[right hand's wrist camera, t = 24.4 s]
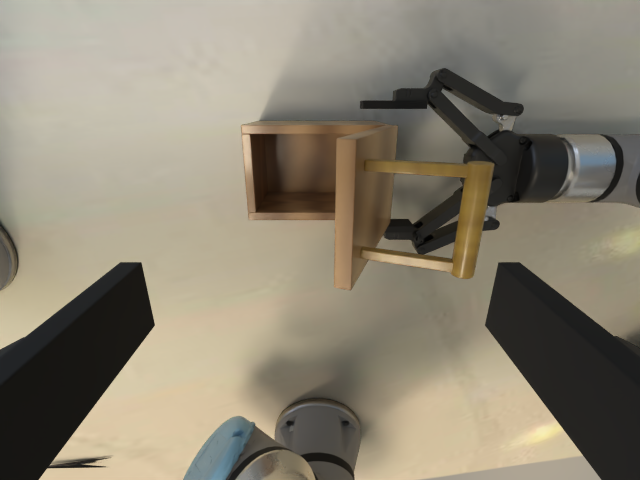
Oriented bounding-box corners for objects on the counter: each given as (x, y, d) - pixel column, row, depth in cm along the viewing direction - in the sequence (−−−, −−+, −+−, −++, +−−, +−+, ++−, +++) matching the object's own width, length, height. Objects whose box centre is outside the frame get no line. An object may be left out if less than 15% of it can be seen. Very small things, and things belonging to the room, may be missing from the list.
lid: (333, 287, 23) (471, 313, 20) (336, 138, 19) (504, 143, 16) (378, 221, 36) (466, 231, 33) (385, 125, 32) (483, 126, 30)
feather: (-18, 463, 66) (-30, 468, 64) (116, 455, 64) (109, 460, 62) (-19, 473, 66) (-30, 478, 64) (116, 465, 64) (109, 470, 62)
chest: (263, 197, 46) (248, 220, 36) (258, 120, 42) (240, 124, 33) (370, 196, 46) (383, 220, 36) (374, 120, 42) (390, 125, 33)
